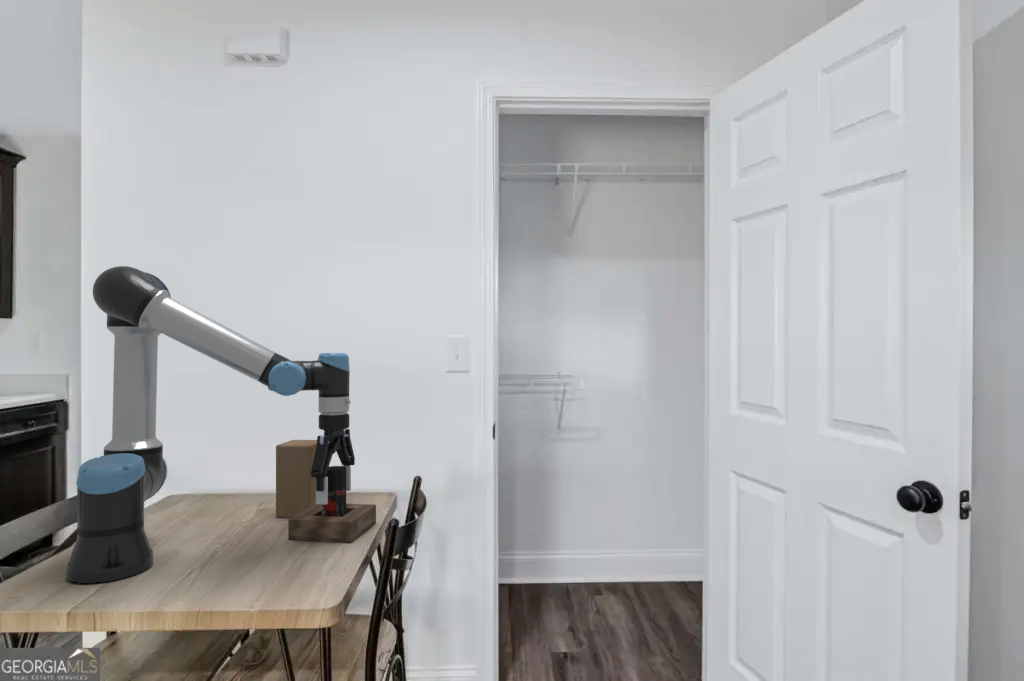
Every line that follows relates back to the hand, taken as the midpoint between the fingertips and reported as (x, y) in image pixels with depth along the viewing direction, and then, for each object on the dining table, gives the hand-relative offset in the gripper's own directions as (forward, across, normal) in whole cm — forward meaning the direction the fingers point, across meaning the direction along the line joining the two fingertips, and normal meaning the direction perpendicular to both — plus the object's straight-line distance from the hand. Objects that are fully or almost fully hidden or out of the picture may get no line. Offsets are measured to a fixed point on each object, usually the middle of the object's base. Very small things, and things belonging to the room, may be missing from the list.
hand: (334, 497), depth 149 cm
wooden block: (+9, +15, +17) cm, 24 cm away
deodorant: (+8, 0, 0) cm, 8 cm away
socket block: (+9, 0, 0) cm, 9 cm away
